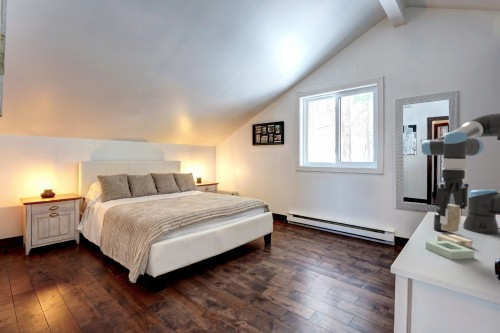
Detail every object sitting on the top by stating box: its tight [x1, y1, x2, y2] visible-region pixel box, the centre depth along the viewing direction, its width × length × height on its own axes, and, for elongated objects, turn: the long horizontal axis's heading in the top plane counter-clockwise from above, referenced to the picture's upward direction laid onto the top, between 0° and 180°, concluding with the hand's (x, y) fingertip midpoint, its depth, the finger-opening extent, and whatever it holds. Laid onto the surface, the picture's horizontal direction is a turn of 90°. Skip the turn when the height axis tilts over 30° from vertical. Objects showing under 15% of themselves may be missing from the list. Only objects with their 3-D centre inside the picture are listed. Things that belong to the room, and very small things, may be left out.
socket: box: [425, 240, 475, 260], centre depth 108 cm, size 11×12×3 cm
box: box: [441, 203, 460, 233], centre depth 108 cm, size 5×4×11 cm
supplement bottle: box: [433, 208, 448, 233], centre depth 141 cm, size 7×7×12 cm
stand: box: [437, 234, 473, 249], centre depth 119 cm, size 9×9×3 cm
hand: (450, 223), depth 108 cm, fingers closed on box, 6 cm apart
